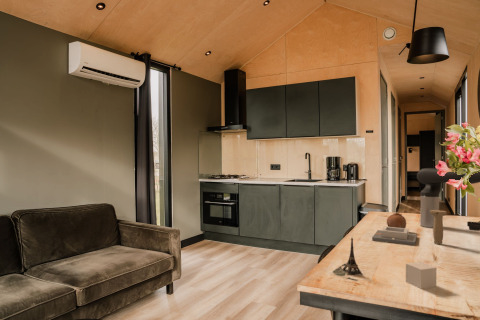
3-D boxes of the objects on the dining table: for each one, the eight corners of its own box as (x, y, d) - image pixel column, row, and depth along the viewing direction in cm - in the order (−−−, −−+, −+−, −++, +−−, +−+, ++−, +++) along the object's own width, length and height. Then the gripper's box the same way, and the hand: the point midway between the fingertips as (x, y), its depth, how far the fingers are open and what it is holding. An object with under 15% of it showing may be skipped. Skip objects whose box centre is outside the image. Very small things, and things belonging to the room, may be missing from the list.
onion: (402, 229, 183) (402, 211, 183) (409, 233, 173) (409, 214, 173) (384, 229, 184) (384, 211, 184) (390, 233, 174) (390, 214, 174)
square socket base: (377, 233, 175) (377, 224, 175) (416, 237, 166) (416, 228, 166) (372, 240, 159) (372, 231, 159) (414, 245, 150) (414, 235, 150)
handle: (445, 246, 149) (445, 212, 149) (428, 243, 154) (429, 210, 154) (447, 244, 153) (447, 211, 153) (431, 241, 157) (431, 209, 157)
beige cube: (405, 282, 107) (405, 263, 107) (420, 280, 109) (420, 261, 109) (420, 289, 101) (420, 269, 101) (436, 287, 103) (436, 267, 103)
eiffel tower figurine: (344, 264, 126) (344, 229, 125) (372, 270, 119) (372, 232, 119) (328, 275, 114) (328, 236, 114) (358, 282, 107) (358, 241, 107)
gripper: (511, 217, 145) (466, 214, 154) (518, 223, 133) (469, 219, 141) (511, 234, 145) (466, 231, 154) (518, 241, 133) (469, 237, 141)
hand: (468, 225), depth 147 cm, fingers open, 8 cm apart
